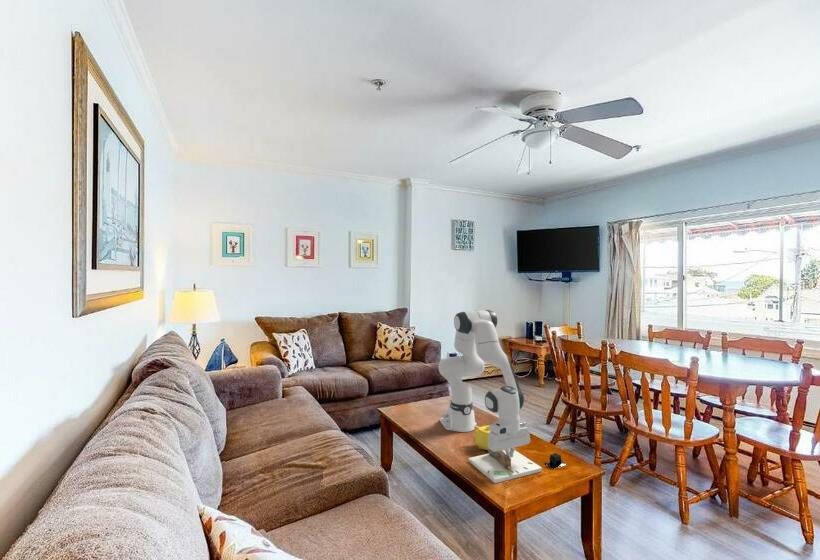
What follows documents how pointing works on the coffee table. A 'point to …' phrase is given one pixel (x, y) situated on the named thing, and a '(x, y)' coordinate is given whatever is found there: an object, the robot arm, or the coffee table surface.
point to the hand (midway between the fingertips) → (509, 457)
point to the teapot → (482, 437)
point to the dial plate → (498, 472)
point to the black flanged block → (555, 461)
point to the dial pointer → (502, 459)
